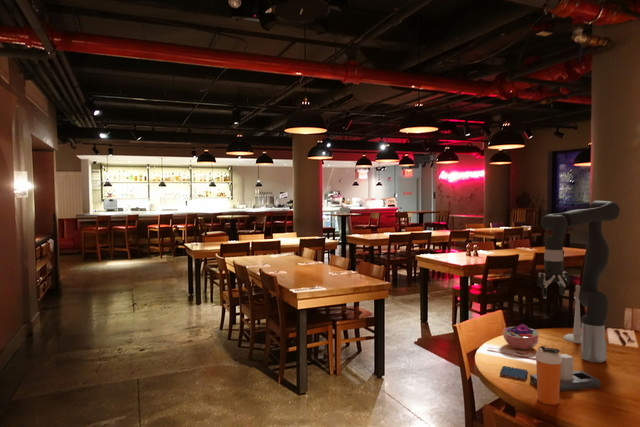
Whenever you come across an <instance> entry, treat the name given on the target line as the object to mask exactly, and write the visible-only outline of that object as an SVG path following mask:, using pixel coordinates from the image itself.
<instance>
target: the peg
mask: <svg viewBox="0 0 640 427" xmlns="http://www.w3.org/2000/svg"><path fill="white" fill-rule="evenodd" d="M559 354H560V353H559ZM560 355H561V357H562V363H561V376H560V379H561V380H563V381H568V380H573V371H574V357H573V356H572V355H569V354H568V353H561V354H560Z"/></svg>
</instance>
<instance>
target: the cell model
mask: <svg viewBox="0 0 640 427" xmlns="http://www.w3.org/2000/svg"><path fill="white" fill-rule="evenodd" d="M502 332H503V333H502V335H503V339H504V341H505V342H506V344H508V345H509V346H510V347H512V348H513V349H518V350H528V349H531V348H534V347H536V346H537V344H538V342H539V331H538V330H537V329H534V328H531V327H528V325H526V324H524V323H521V324H518V325H517V326H514V325H513V326H507V327H504V328H503V330H502Z"/></svg>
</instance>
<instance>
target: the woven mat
mask: <svg viewBox="0 0 640 427" xmlns="http://www.w3.org/2000/svg"><path fill="white" fill-rule="evenodd" d="M528 375H529V371H528V370H527V369H523V368H517V367H511V366H502V367H501V369H500V371H499V377H501V378H503V377H504V378H507V379H512V380H518V381H519V380H520V381H523V382H526V381H527V380H528Z"/></svg>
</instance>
